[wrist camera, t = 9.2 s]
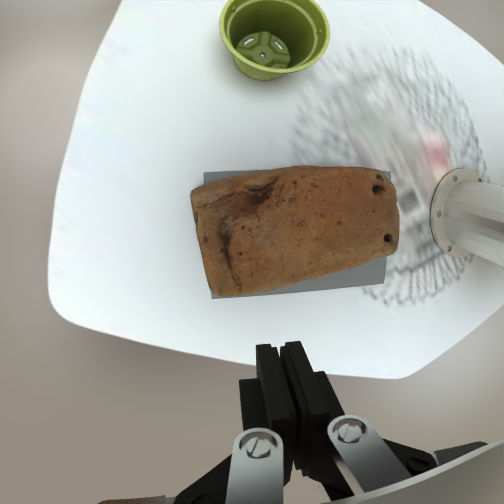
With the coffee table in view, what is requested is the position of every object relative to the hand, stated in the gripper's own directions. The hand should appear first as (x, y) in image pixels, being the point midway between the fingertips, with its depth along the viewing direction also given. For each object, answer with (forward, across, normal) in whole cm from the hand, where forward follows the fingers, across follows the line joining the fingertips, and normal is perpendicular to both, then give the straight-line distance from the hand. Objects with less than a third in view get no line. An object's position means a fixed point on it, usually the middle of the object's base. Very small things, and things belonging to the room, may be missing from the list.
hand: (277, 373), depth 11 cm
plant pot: (+24, -3, -20) cm, 31 cm away
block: (+20, +4, 0) cm, 20 cm away
